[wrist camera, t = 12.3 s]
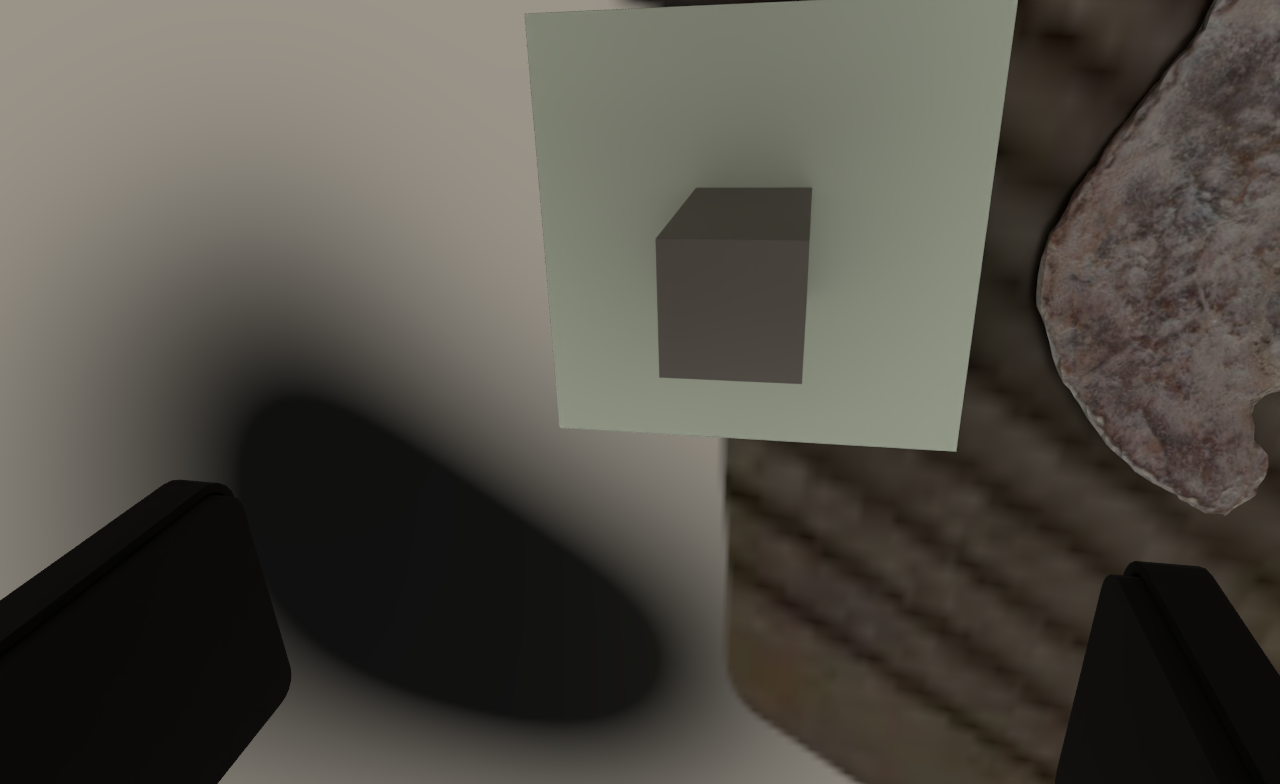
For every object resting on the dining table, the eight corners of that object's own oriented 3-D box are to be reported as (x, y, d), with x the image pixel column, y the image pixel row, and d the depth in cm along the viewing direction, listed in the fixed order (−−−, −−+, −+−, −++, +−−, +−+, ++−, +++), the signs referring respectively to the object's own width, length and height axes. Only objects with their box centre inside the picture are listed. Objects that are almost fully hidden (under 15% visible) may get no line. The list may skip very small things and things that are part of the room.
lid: (1011, -8, 23) (1098, -25, 16) (952, 438, 28) (995, 576, 21) (535, 14, 25) (422, 8, 18) (567, 416, 31) (490, 532, 24)
